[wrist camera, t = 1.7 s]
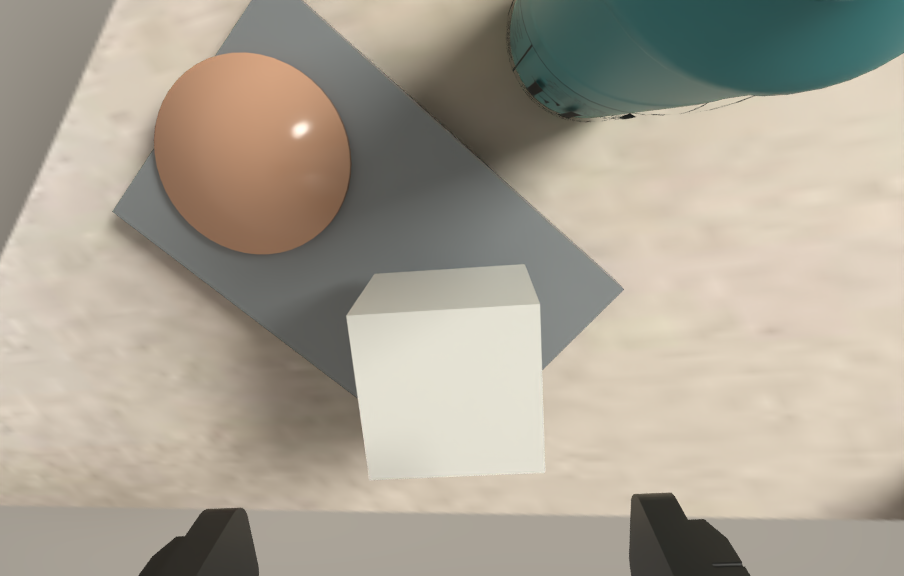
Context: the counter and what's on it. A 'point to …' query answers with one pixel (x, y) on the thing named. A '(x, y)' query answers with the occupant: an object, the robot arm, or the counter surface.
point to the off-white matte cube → (449, 373)
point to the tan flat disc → (252, 153)
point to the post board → (374, 210)
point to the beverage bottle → (693, 50)
